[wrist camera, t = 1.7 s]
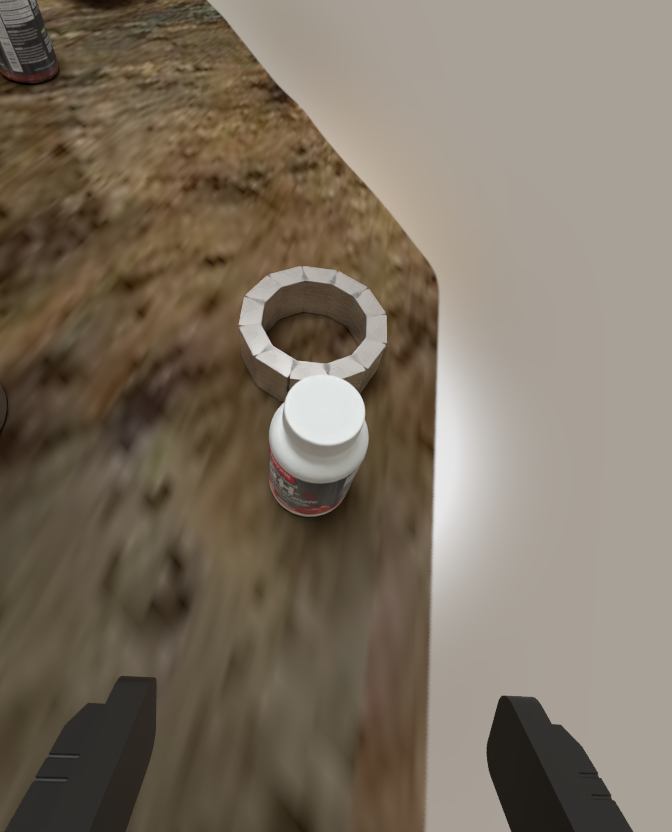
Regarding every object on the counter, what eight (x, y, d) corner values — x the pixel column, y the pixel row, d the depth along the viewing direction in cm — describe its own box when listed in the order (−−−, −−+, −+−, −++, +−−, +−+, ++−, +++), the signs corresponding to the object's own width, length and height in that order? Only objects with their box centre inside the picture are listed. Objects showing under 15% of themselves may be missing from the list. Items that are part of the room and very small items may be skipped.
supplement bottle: (-8, 61, 48) (-78, -93, 38) (51, 54, 50) (-2, -94, 40) (7, 89, 46) (-64, -66, 36) (68, 81, 48) (16, -68, 38)
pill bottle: (255, 501, 29) (249, 433, 20) (286, 432, 31) (293, 346, 23) (334, 531, 28) (361, 475, 20) (359, 459, 31) (393, 382, 22)
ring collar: (214, 358, 33) (208, 328, 30) (295, 280, 38) (297, 247, 35) (330, 433, 32) (337, 408, 29) (399, 341, 37) (411, 312, 34)
